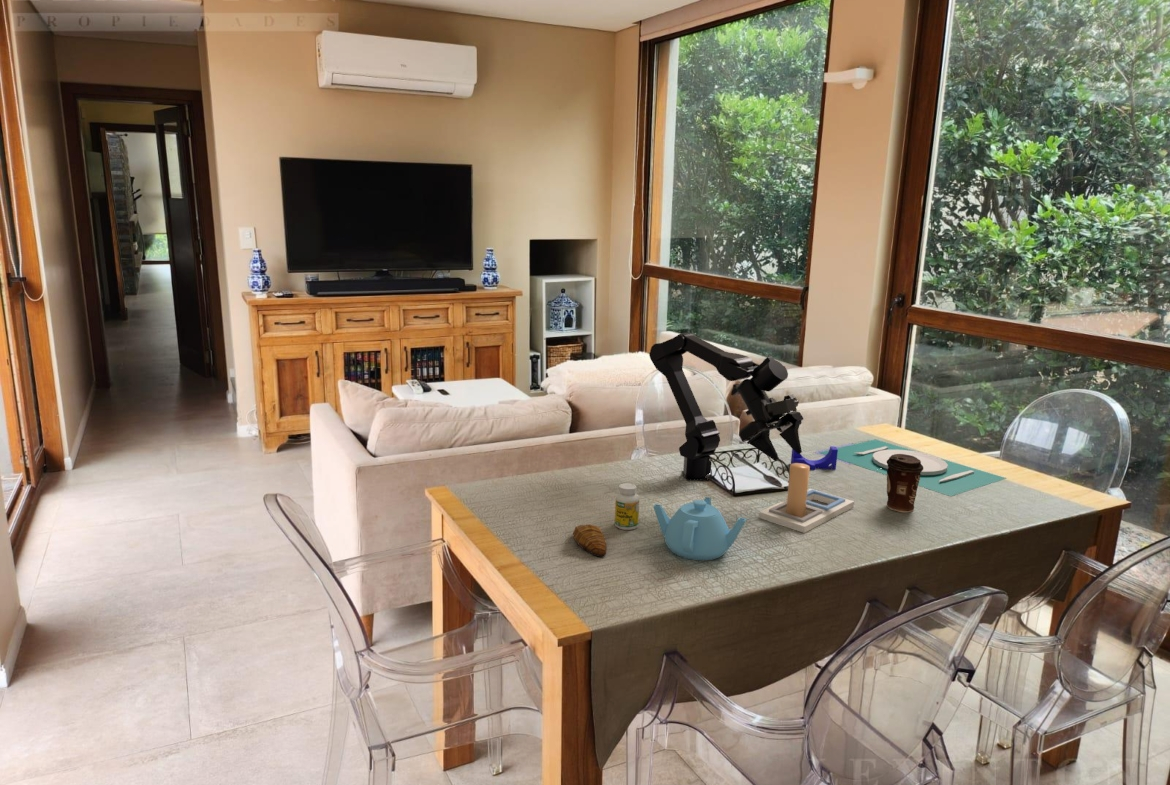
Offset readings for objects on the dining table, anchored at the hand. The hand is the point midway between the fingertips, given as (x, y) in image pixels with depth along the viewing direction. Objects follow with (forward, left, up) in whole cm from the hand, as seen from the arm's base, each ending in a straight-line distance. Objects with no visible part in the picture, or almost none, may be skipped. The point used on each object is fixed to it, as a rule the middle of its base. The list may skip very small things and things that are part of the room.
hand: (788, 456), depth 195 cm
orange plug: (0, -6, -13) cm, 15 cm away
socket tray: (+5, -2, -13) cm, 14 cm away
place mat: (+50, +31, -14) cm, 61 cm away
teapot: (-28, -21, -14) cm, 37 cm away
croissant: (-51, -18, -14) cm, 55 cm away
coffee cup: (+29, -1, -14) cm, 32 cm away
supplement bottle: (-41, -8, -14) cm, 44 cm away
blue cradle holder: (+20, +30, -14) cm, 39 cm away
